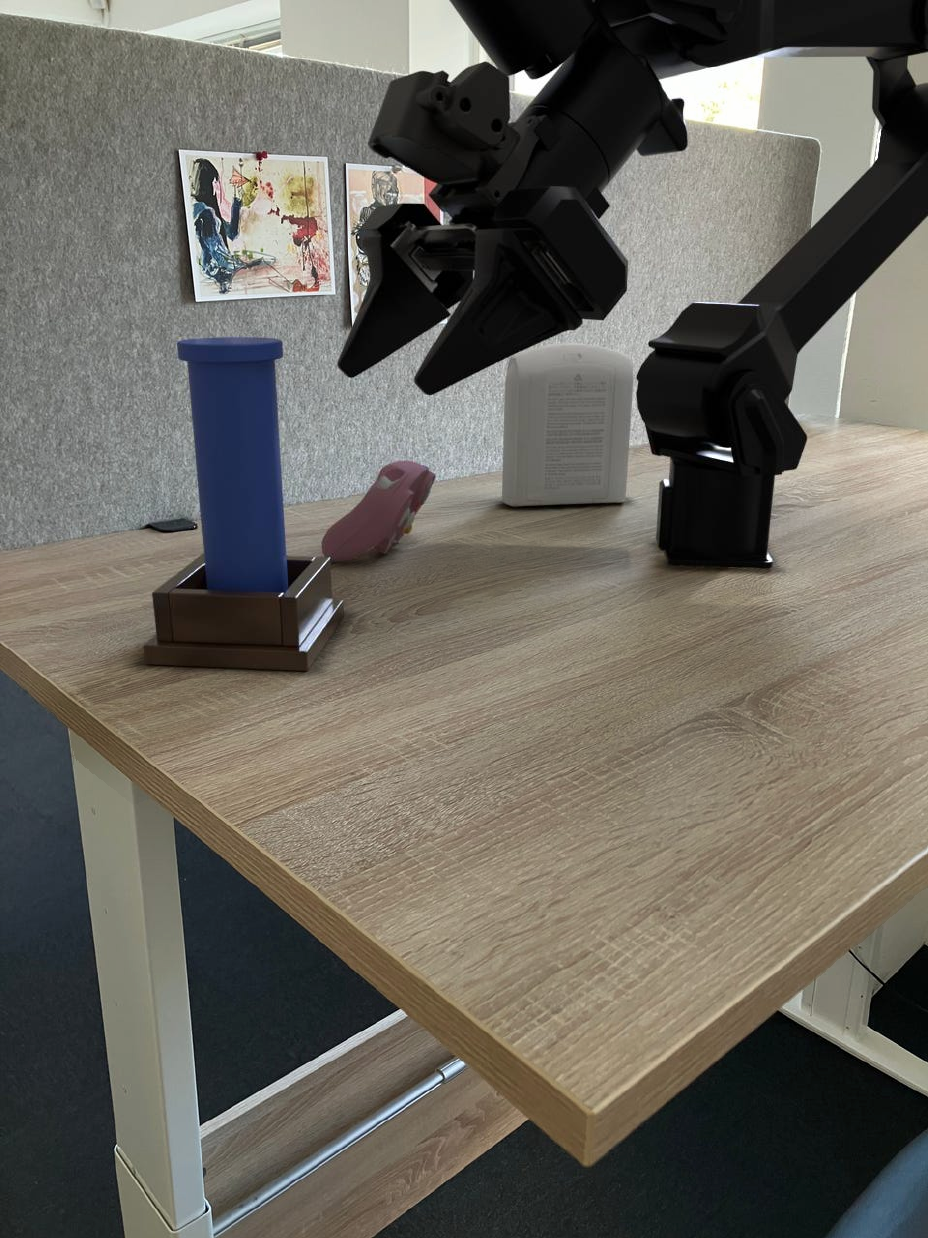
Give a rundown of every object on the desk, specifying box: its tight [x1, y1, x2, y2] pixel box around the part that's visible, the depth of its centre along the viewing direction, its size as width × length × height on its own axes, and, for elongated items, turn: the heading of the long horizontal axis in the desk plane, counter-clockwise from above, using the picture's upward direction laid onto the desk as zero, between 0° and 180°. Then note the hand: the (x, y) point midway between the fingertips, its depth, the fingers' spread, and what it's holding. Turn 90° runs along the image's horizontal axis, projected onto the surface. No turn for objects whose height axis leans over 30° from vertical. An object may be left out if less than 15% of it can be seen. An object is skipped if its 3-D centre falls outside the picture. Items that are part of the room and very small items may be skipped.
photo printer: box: [501, 342, 634, 508], centre depth 80 cm, size 10×4×12 cm, turn 103°
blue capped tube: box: [176, 336, 288, 594], centre depth 50 cm, size 5×5×14 cm
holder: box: [142, 552, 345, 672], centre depth 52 cm, size 8×8×4 cm
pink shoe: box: [320, 459, 437, 563], centre depth 68 cm, size 10×5×7 cm, turn 168°
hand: (379, 379), depth 52 cm, fingers open, 9 cm apart
